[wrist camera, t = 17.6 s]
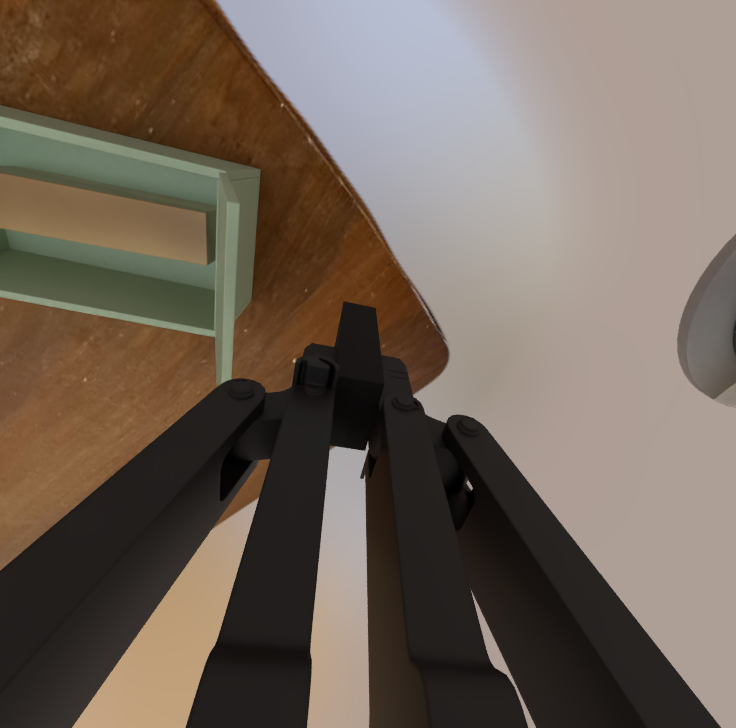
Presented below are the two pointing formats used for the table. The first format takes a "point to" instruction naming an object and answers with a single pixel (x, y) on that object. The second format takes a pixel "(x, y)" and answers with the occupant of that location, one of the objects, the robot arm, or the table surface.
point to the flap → (226, 277)
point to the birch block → (106, 215)
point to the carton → (111, 266)
